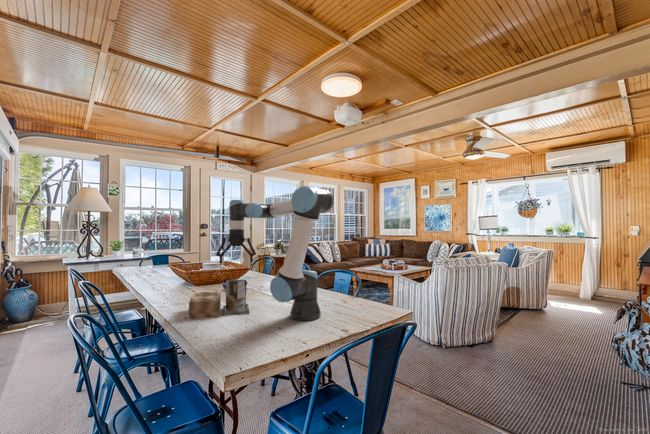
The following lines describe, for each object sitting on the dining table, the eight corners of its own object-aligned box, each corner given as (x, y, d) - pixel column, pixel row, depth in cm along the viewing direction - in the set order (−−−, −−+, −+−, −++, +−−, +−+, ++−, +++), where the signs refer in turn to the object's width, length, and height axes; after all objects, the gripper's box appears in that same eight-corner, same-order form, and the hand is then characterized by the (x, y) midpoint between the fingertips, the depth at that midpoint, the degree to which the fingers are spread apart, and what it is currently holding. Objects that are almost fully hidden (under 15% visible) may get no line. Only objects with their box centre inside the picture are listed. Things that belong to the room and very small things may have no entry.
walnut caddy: (247, 305, 176) (247, 288, 176) (249, 314, 159) (249, 295, 159) (192, 309, 167) (193, 291, 168) (188, 319, 150) (189, 299, 150)
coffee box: (246, 310, 166) (246, 280, 166) (237, 313, 160) (237, 282, 161) (234, 308, 171) (235, 278, 171) (225, 310, 165) (225, 280, 165)
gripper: (259, 228, 174) (259, 267, 173) (212, 228, 166) (211, 268, 166) (261, 229, 166) (260, 269, 166) (211, 228, 159) (210, 270, 159)
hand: (236, 268), depth 166 cm, fingers open, 13 cm apart
